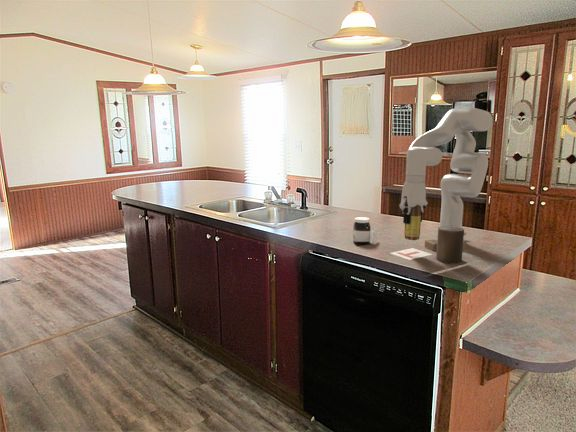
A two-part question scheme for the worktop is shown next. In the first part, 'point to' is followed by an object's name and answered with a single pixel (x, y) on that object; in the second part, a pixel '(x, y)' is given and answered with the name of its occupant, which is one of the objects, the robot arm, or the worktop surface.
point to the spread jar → (363, 232)
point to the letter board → (411, 253)
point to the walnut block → (431, 244)
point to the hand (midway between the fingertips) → (412, 222)
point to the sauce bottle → (413, 224)
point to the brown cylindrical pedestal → (450, 244)
